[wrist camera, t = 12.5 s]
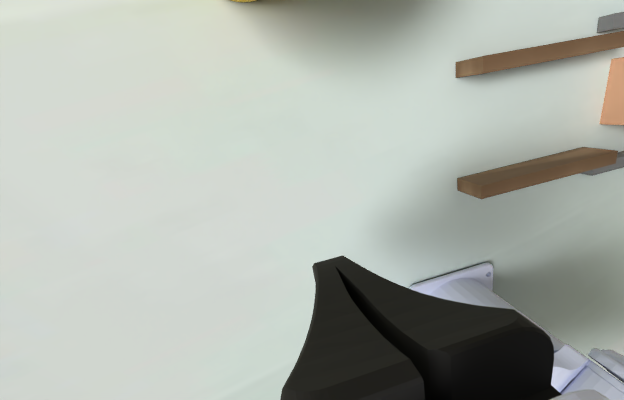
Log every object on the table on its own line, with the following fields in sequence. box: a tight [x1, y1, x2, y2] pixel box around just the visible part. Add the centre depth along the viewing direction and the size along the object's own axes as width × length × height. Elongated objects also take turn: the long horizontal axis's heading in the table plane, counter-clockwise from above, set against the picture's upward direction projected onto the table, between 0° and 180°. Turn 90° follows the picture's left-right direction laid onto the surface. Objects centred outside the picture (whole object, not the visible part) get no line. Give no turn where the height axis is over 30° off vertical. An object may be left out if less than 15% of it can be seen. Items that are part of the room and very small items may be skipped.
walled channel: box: [456, 31, 624, 199], centre depth 22 cm, size 9×12×2 cm
